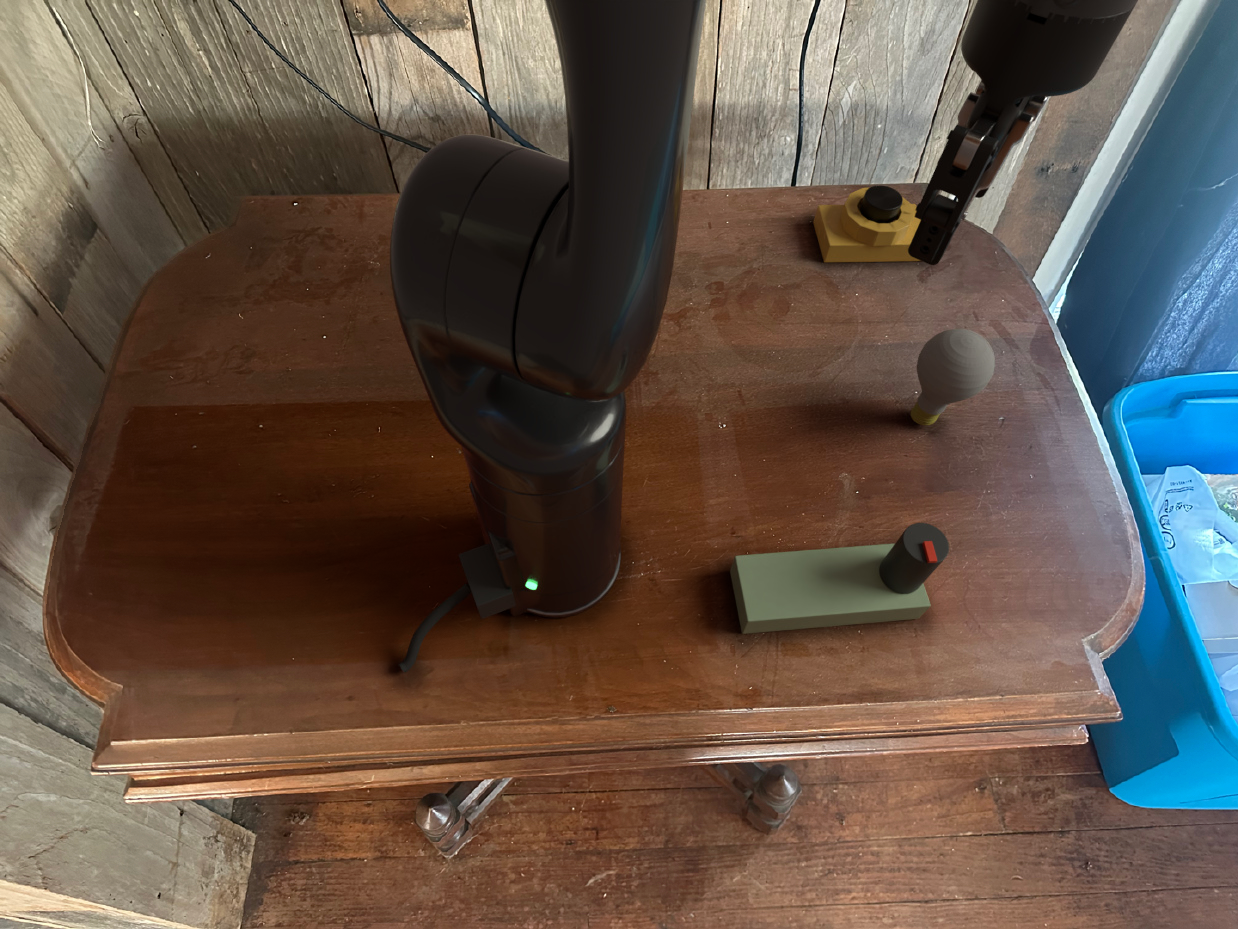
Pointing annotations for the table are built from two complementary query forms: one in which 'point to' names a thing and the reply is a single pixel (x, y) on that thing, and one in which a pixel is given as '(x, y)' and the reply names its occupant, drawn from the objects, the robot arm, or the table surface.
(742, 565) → the dimmer panel
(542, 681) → the table surface
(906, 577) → the dimmer knob
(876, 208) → the button
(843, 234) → the switch box
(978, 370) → the light bulb
